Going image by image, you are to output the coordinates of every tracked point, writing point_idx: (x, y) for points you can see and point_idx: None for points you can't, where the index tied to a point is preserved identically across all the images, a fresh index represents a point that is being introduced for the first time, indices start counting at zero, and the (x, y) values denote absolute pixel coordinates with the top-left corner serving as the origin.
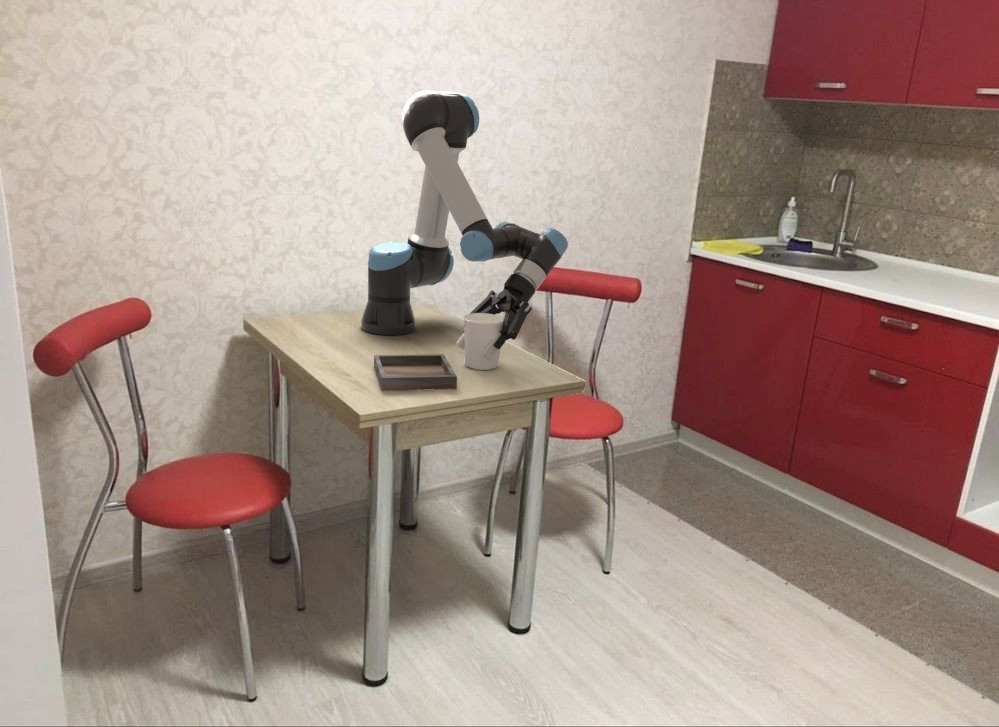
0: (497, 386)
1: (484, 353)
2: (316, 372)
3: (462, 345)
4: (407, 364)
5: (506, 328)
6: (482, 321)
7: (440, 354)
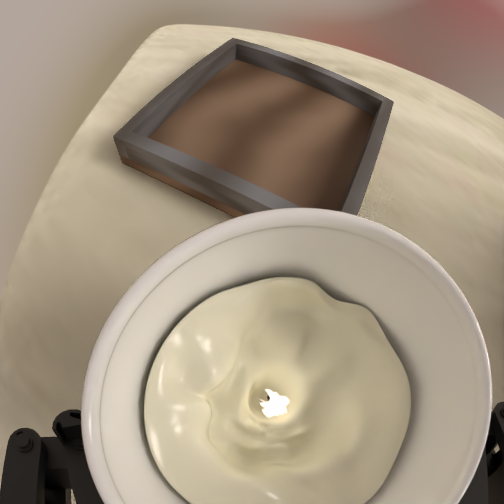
0: (53, 275)
1: None
2: (375, 60)
3: None
4: (352, 157)
5: (73, 482)
6: (416, 481)
7: None
